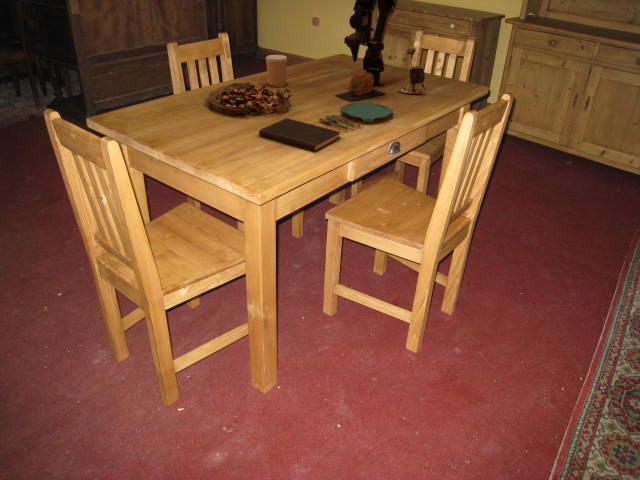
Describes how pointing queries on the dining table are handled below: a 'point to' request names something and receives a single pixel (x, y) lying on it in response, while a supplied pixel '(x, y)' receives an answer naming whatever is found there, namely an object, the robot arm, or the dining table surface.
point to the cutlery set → (360, 113)
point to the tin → (362, 84)
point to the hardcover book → (300, 134)
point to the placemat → (352, 97)
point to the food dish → (248, 100)
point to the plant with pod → (414, 75)
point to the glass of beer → (276, 69)
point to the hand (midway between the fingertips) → (362, 64)
